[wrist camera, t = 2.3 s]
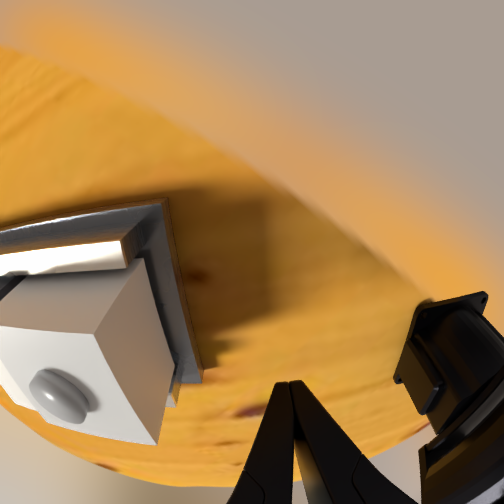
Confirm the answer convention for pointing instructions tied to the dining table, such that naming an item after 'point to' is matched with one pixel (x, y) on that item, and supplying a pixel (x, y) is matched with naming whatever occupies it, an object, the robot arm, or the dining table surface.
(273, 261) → the dining table surface
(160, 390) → the knobbed white cube
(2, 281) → the white flat block
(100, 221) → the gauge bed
